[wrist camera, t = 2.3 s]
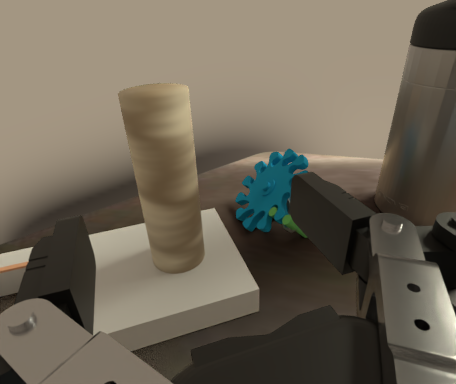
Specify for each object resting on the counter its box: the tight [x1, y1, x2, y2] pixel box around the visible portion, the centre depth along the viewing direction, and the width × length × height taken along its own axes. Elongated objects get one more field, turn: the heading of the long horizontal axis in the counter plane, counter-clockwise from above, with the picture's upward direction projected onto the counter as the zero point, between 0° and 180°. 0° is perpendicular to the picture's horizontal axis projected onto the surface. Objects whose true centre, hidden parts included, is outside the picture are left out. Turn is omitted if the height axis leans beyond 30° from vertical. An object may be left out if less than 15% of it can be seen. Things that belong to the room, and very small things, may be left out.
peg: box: [118, 83, 205, 274], centre depth 24 cm, size 4×4×14 cm
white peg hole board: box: [0, 208, 259, 351], centre depth 26 cm, size 26×12×3 cm, turn 109°
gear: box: [236, 149, 308, 238], centre depth 35 cm, size 11×6×10 cm
